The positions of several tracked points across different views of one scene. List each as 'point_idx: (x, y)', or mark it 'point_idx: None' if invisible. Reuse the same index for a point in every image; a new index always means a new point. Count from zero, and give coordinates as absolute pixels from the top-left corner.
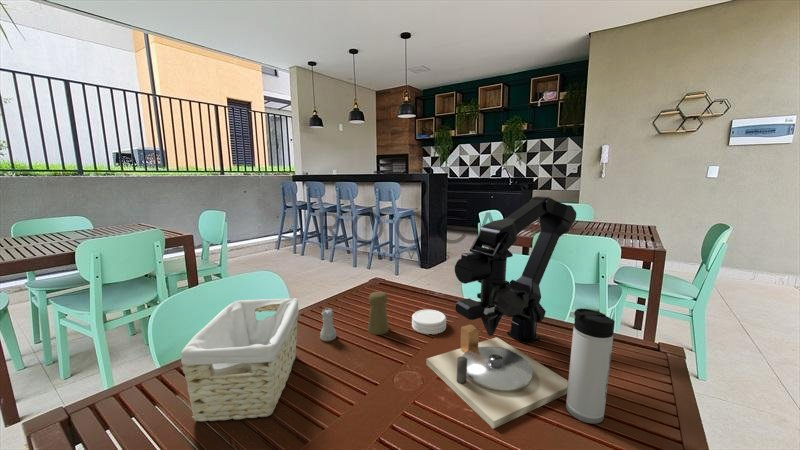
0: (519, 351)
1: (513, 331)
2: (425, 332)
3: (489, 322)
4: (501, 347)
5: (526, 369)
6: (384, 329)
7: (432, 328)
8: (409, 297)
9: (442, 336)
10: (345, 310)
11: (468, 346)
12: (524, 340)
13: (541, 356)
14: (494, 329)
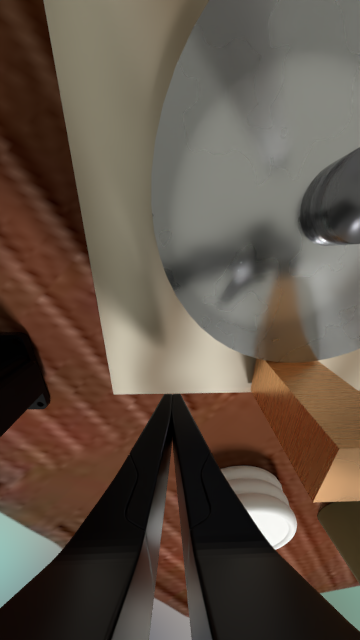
0: (96, 281)
1: (25, 394)
2: (274, 478)
3: (234, 493)
4: (147, 337)
5: (240, 36)
6: (354, 513)
7: (266, 489)
8: (182, 573)
9: (242, 453)
10: (331, 567)
11: (333, 372)
12: (13, 345)
13: (9, 237)
14: (161, 419)
